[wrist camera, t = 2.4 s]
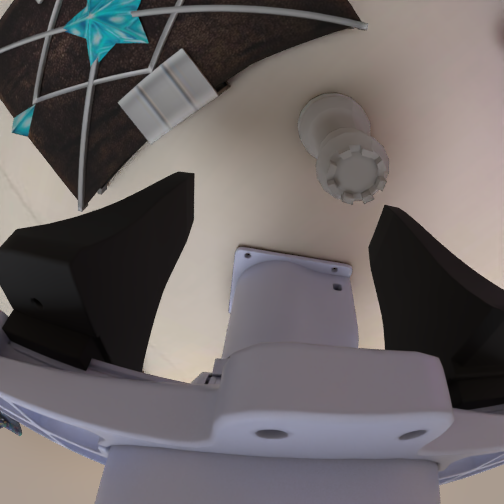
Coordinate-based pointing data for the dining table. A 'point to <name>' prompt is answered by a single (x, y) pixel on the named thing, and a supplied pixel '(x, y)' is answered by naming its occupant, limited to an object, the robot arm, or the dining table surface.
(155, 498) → the robot arm
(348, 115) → the rook chess piece
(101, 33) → the book
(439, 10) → the dining table surface
